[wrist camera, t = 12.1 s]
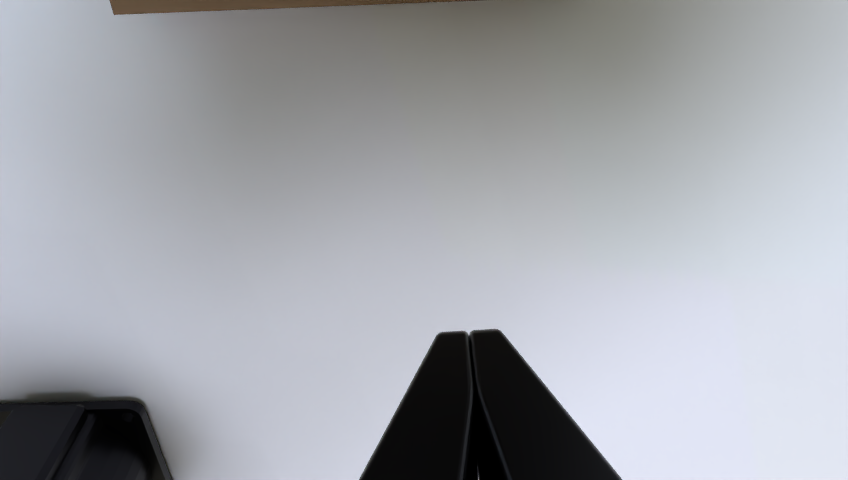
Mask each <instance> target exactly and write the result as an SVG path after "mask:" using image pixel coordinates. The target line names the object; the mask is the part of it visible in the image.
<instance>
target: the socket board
mask: <svg viewBox="0 0 848 480" xmlns="http://www.w3.org/2000/svg"><path fill="white" fill-rule="evenodd" d="M452 1H478V0H110V3H111V6H112V10H113V13H114V15H118V14H144V13H170V12H195V11H221V10H247V9H272V8H298V7H324V6H349V5H375V4H401V3H427V2H452Z"/></svg>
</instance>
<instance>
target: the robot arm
mask: <svg viewBox="0 0 848 480" xmlns="http://www.w3.org/2000/svg"><path fill="white" fill-rule="evenodd" d="M478 478H479V480H622V479H621V477H620V476H619V475H618V474H617V473H616V471H615V470H614V469H613V468H612V466H611V465H610V464H609V463H608V461H607V460H606V459H605V458H604V457H603V455H602V454H601V453H600V452H599V450H598V449H597V448H596V447H595V446H594V444H593V443H592V442H591V441H590V439H589V438H588V437H587V436H586V435H585V433H584V432H583V431H582V430H581V428H580V427H579V426H578V425H577V424H576V422H575V421H574V420H573V419H572V417H571V416H570V415H569V414H568V412H567V411H566V410H565V409H564V408H563V406H562V405H561V404H560V403H559V401H558V400H557V399H556V398H555V397H554V395H553V394H552V393H551V392H550V390H549V389H548V388H547V387H546V386H545V384H544V383H543V382H542V381H541V379H540V378H539V377H538V376H537V374H536V373H535V372H534V371H533V370H532V368H531V367H530V366H529V365H528V363H527V362H526V361H525V360H524V359H523V357H522V356H521V355H520V354H519V352H518V351H517V350H516V349H515V348H514V346H513V345H512V344H511V343H510V341H509V340H508V339H507V338H506V337H505V335H504V334H503V333H502V332H501V331H500V330H498V329H486V330H473V331H471V332H470V334H469V335H468V333H467V332H465V331H452V332H440V333H439V334H437V336H436V337H435V339H434V341H433V343H432V345H431V346H430V348H429V350H428V352H427V354H426V356H425V358H424V359H423V361H422V363H421V365H420V367H419V369H418V371H417V373H416V374H415V376H414V378H413V380H412V382H411V384H410V386H409V387H408V389H407V391H406V393H405V395H404V397H403V399H402V400H401V402H400V404H399V406H398V408H397V410H396V412H395V414H394V415H393V417H392V419H391V421H390V423H389V425H388V427H387V428H386V430H385V432H384V434H383V436H382V438H381V440H380V441H379V443H378V445H377V447H376V449H375V451H374V453H373V455H372V456H371V458H370V460H369V462H368V464H367V466H366V468H365V469H364V471H363V473H362V475H361V477H360V479H359V480H478ZM0 480H171V477H170V474H169V472H168V469H167V466H166V464H165V461H164V458H163V456H162V453H161V450H160V448H159V445H158V442H157V440H156V437H155V434H154V432H153V429H152V426H151V424H150V421H149V419H148V416H147V413H146V411H145V409H144V407H143V406H142V405H141V404H139V403H137V402H135V401H97V402H57V403H17V404H0Z"/></svg>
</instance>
